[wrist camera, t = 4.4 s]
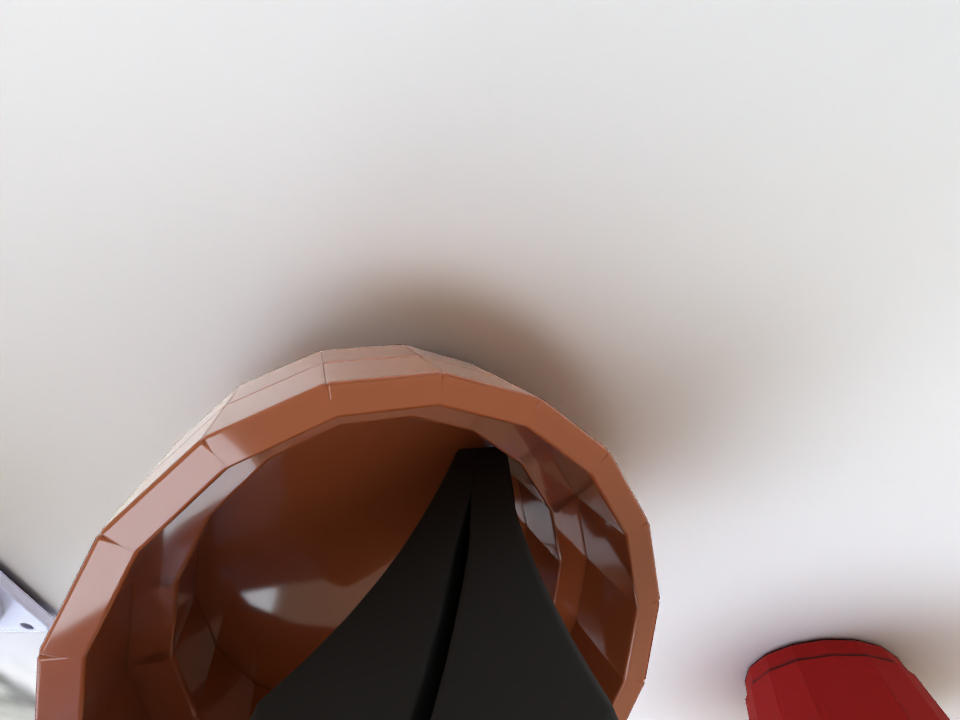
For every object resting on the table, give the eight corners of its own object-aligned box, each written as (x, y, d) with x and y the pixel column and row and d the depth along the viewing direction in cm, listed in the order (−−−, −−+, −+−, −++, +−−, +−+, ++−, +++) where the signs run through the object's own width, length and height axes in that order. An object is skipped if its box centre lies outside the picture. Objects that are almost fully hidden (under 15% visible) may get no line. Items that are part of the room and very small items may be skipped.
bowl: (222, 803, 13) (176, 1066, 9) (63, 409, 10) (-112, 498, 6) (583, 634, 16) (684, 766, 12) (521, 298, 13) (619, 305, 9)
